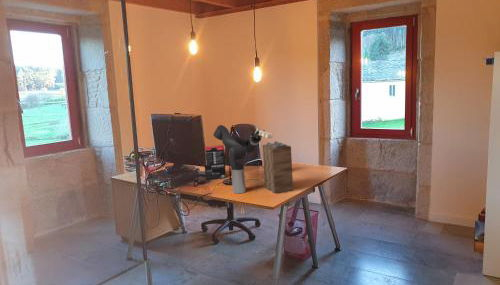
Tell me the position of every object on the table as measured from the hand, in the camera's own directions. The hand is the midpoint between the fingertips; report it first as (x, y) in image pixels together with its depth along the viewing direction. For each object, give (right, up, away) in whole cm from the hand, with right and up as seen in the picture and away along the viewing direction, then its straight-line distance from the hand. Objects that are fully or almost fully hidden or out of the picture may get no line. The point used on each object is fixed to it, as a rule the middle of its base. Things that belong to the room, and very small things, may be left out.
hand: (261, 131), depth 296 cm
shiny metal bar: (+2, -3, -4) cm, 5 cm away
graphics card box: (-37, -38, +21) cm, 57 cm away
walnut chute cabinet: (+12, -42, -19) cm, 48 cm away
